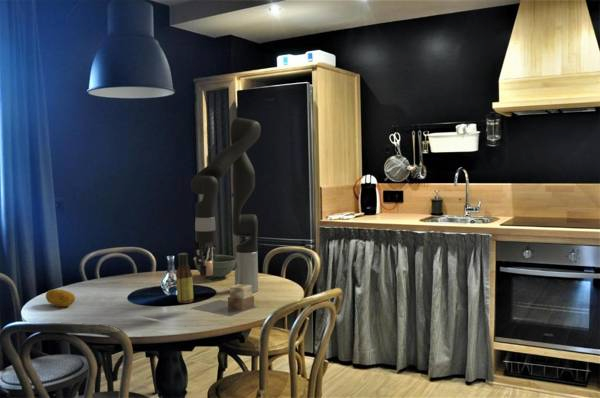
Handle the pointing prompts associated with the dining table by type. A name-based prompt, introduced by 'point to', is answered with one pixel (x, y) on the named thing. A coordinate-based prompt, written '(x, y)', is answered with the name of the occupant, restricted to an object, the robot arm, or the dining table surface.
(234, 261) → the bowl
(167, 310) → the dining table surface
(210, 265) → the pink cube
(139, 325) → the dining table surface
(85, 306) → the dining table surface
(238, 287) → the birch block
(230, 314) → the slate board
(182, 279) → the sauce bottle
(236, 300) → the walnut block
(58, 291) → the potato
